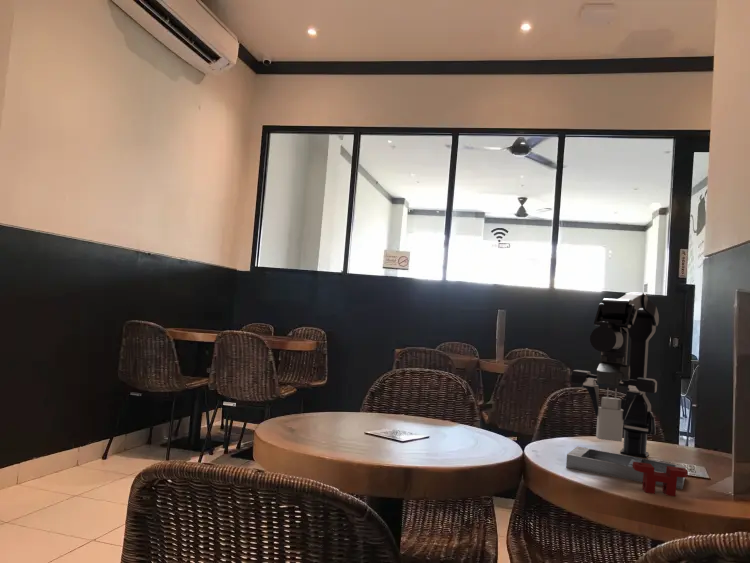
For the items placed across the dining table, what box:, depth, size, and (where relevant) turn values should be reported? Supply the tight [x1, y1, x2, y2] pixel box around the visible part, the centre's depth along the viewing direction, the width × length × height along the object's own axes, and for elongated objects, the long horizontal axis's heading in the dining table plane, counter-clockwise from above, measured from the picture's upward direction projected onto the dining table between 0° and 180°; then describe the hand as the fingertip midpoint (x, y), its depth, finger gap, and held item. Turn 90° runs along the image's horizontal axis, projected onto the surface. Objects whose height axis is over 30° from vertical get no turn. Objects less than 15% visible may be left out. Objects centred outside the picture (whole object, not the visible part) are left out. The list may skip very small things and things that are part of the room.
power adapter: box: [595, 387, 624, 442], centre depth 137 cm, size 3×5×12 cm, turn 81°
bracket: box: [633, 462, 689, 497], centre depth 118 cm, size 3×6×10 cm
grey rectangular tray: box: [565, 445, 687, 490], centre depth 134 cm, size 12×24×3 cm, turn 59°
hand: (610, 417), depth 137 cm, fingers closed on power adapter, 6 cm apart
